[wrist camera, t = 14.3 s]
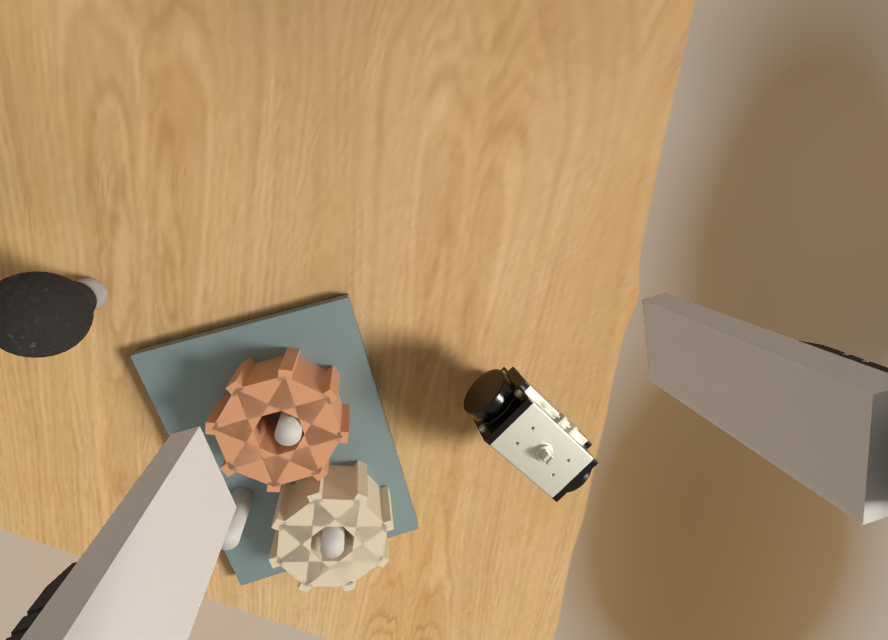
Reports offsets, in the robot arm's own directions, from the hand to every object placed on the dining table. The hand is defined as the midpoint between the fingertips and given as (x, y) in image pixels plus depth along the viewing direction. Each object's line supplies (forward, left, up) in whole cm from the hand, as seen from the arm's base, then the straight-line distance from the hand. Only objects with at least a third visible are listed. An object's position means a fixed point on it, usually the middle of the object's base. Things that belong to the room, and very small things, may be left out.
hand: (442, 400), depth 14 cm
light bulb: (-3, -23, -29) cm, 37 cm away
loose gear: (+10, -12, -27) cm, 31 cm away
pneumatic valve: (+16, +8, -29) cm, 34 cm away
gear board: (+15, -13, -29) cm, 35 cm away
